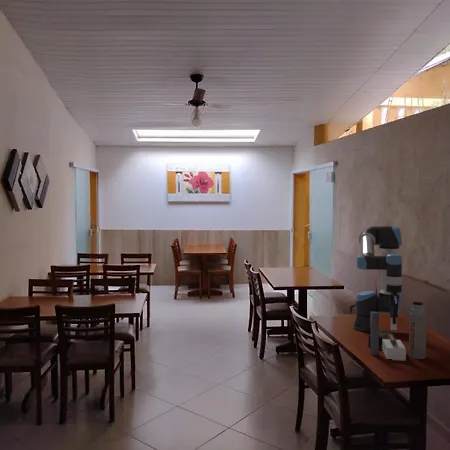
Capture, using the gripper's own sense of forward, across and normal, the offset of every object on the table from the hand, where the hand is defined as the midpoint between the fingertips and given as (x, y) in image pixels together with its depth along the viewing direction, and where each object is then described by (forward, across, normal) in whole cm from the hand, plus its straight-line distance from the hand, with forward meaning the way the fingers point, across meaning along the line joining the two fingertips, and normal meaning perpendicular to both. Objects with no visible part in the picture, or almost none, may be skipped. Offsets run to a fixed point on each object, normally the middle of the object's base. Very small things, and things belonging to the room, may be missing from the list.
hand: (393, 329), depth 232 cm
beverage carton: (+14, -20, -4) cm, 24 cm away
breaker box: (+13, 0, 0) cm, 13 cm away
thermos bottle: (+14, 0, +12) cm, 18 cm away
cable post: (+13, 0, -10) cm, 16 cm away
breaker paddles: (+7, 0, 0) cm, 7 cm away
